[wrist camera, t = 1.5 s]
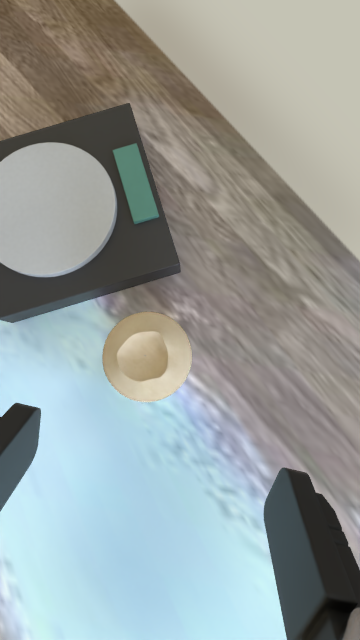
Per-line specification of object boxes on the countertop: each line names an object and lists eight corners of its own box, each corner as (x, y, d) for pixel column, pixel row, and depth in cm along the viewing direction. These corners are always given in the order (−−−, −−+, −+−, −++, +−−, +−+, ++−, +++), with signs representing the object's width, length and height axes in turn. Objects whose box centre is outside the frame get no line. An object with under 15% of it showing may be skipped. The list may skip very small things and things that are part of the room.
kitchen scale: (134, 122, 31) (127, 94, 28) (180, 272, 29) (179, 260, 26) (-23, 168, 31) (-47, 146, 28) (12, 323, 29) (-10, 317, 26)
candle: (158, 315, 29) (141, 288, 19) (204, 356, 28) (212, 351, 18) (116, 361, 28) (75, 358, 18) (162, 404, 27) (145, 426, 18)
